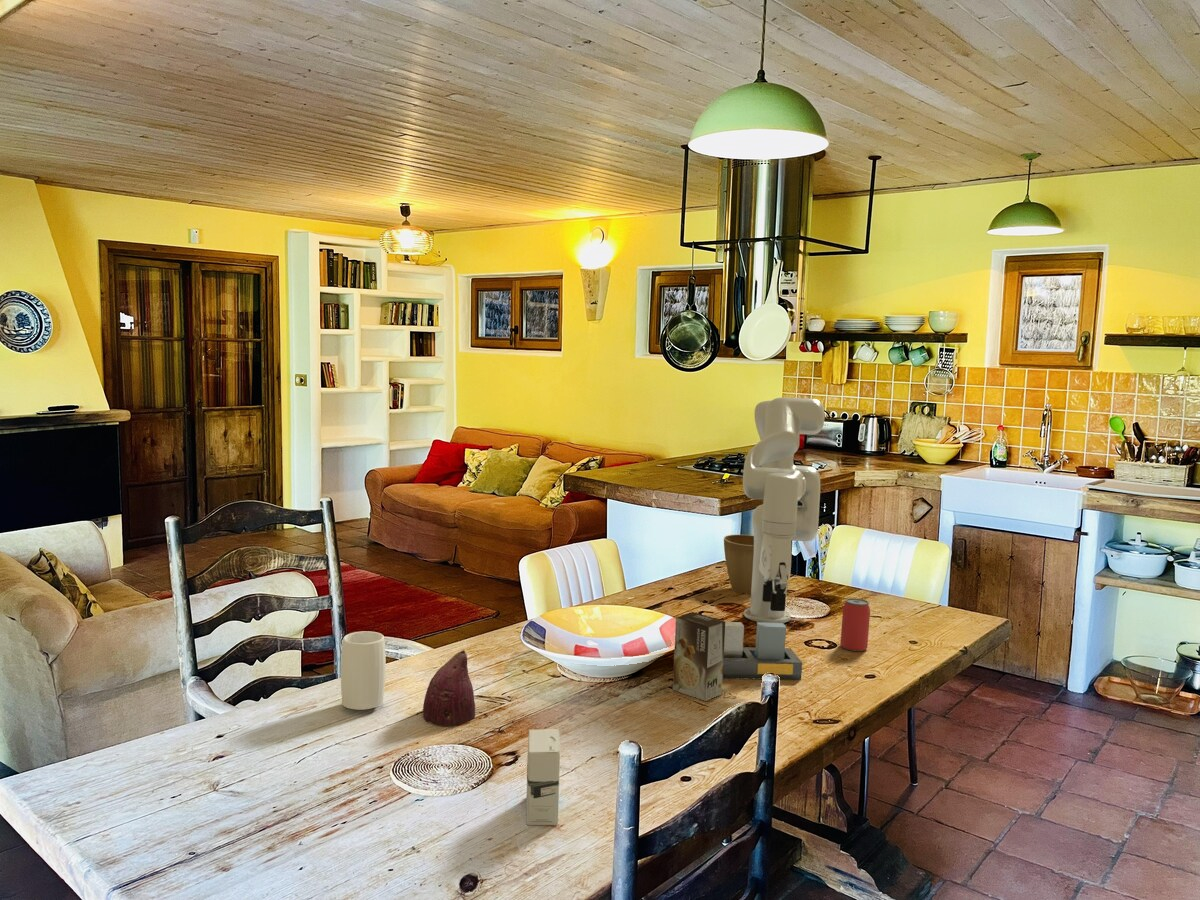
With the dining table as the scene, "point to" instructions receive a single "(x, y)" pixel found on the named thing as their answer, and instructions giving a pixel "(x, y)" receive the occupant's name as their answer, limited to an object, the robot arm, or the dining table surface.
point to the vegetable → (450, 694)
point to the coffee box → (698, 655)
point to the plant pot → (739, 561)
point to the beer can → (855, 624)
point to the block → (770, 641)
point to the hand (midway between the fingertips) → (773, 605)
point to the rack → (743, 659)
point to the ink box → (543, 777)
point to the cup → (363, 670)
